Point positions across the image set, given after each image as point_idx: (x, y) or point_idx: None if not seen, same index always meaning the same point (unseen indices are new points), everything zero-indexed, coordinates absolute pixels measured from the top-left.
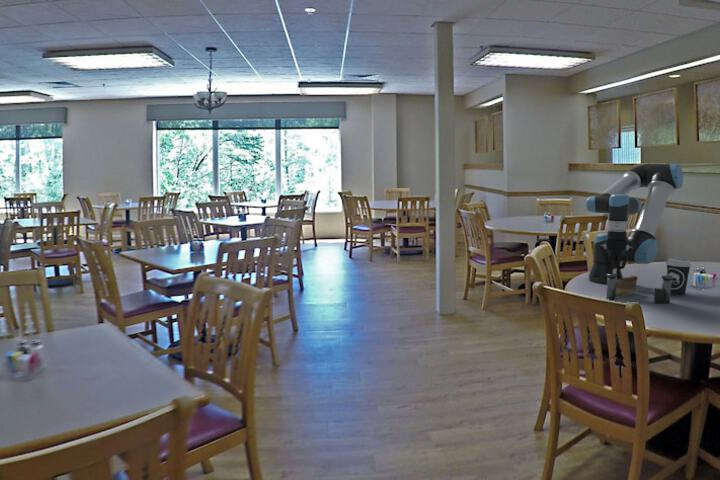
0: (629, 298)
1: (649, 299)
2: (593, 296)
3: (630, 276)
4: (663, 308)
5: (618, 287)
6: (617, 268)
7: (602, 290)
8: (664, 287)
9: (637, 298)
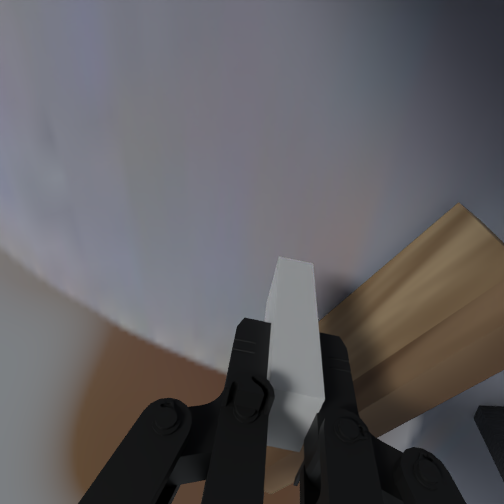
0: None
1: None
2: (160, 344)
3: (485, 337)
4: (470, 470)
5: None
6: (310, 481)
7: (209, 176)
8: None
9: None
